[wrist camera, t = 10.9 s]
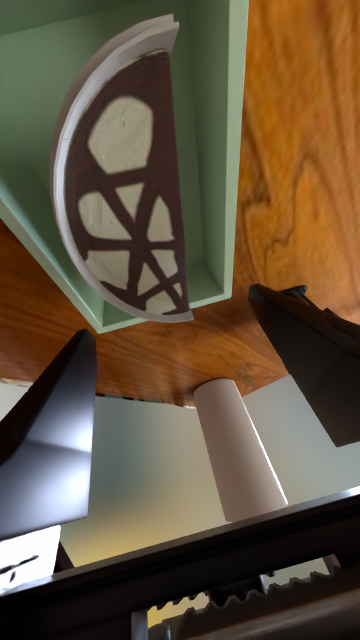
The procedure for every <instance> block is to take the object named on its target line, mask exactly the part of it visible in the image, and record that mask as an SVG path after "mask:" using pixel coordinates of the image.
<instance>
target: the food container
mask: <svg viewBox="0 0 360 640" xmlns="http://www.w3.org/2000/svg"><path fill="white" fill-rule="evenodd" d="M178 29H179V21H178V22H173V14H169V15H165V16H161V17H157V18H153V19H149V20H145V21H142V22H140V23H137V24H135V25H133V26H132V27H130V28H128V29H127V30H125V31H123V32H122V33H120V34H118V35H117V36H115V37H113V38H111V39H110V40H108V41H107V42H106V43H105V44H104V45H103V46H102V47H101V48H100V49H99V50H98V51H97V52H96V53H95V54H94V55H93V56H92V57H91V58H90V59H89V60H88V61H87V62H86V63H85V64H84V65H83V67H82V69H81V70H80V72H79V74H78V75H77V77H76V78H75V80H74V82H73V83H72V85H71V87H70V88H69V90H68V92H67V93H66V96H65V99H64V102H63V104H62V107H61V110H60V113H59V115H58V118H57V121H56V124H55V130H54V135H53V141H52V147H51V153H50V158H49V191H50V198H51V204H52V210H53V216H54V219H55V222H56V226H57V229H58V232H59V235H60V238H61V240H62V242H63V245H64V247H65V249H66V251H67V253H68V255H69V257H70V259H71V260H72V262H73V263H74V265H75V266H76V268H77V269H78V271H79V272H80V274H81V275H82V277H83V278H84V279H85V281H86V282H87V283H88V284H89V285H90V286H91V287H92V288H93V289H94V290H95V291H96V293H98V294H99V295H100V296H101V297H103V298H104V299H105V300H106V301H107V302H109V303H110V304H112V305H113V306H115V307H117V308H118V309H120V310H122V311H124V312H126V313H128V314H131V315H133V316H136V317H139V318H142V319H146V320H151V321H156V322H169V323H173V322H186V321H192V320H194V317H193V314H192V311H191V308H190V305H189V299H188V289H187V274H186V256H185V236H184V226H183V216H182V206H181V194H180V181H179V169H178V156H177V143H176V131H175V118H174V105H173V93H172V81H171V69H170V55H171V52H172V49H173V45H174V42H175V39H176V36H177V32H178Z"/></svg>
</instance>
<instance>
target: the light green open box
mask: <svg viewBox="0 0 360 640" xmlns="http://www.w3.org/2000/svg"><path fill="white" fill-rule="evenodd" d="M248 4H249V0H0V218H1V219H2V221H3V222H4V223H5V224H6V225H7V226H8V228H9V229H10V230H11V231H12V232H13V234H14V235H15V236H16V237H17V238H18V239H19V241H20V242H21V243H22V244H23V245H24V247H25V248H26V249H27V250H28V251H29V252H30V254H31V255H32V256H33V257H34V258H35V260H36V261H37V262H38V263H39V264H40V265H41V267H42V268H43V269H44V270H45V271H46V272H47V274H48V275H49V276H50V277H51V278H52V280H53V281H54V282H55V283H56V284H57V285H58V287H59V288H60V289H61V290H62V291H63V293H64V294H65V295H66V296H67V297H68V298H69V300H70V301H71V302H72V303H73V304H74V306H75V307H76V308H77V309H78V310H79V311H80V313H81V314H82V315H83V316H84V317H85V319H86V320H87V321H88V322H89V323H90V324H91V326H92V327H93V328H94V329H95V330H96V332H97V333H98V334H100V333H104V332H108V331H112V330H115V329H119V328H123V327H126V326H130V325H133V324H137V323H141V322H144V321H148V320H146V319H142V318H139V317H136V316H133V315H131V314H128V313H126V312H124V311H122V310H120V309H118V308H117V307H115V306H113V305H112V304H110V303H109V302H107V301H106V300H105V299H104V298H103V297H101V296H100V295H99V294H98V293H96V291H95V290H94V289H93V288H92V287H91V286H90V285H89V284H88V283H87V282H86V281H85V279H84V278H83V277H82V275H81V274H80V272H79V271H78V269H77V268H76V266H75V265H74V263H73V262H72V260H71V259H70V257H69V255H68V253H67V251H66V249H65V247H64V245H63V242H62V240H61V238H60V235H59V232H58V229H57V226H56V222H55V219H54V216H53V210H52V204H51V198H50V191H49V158H50V153H51V147H52V141H53V135H54V130H55V124H56V121H57V118H58V115H59V113H60V110H61V107H62V104H63V102H64V99H65V96H66V93H67V92H68V90H69V88H70V87H71V85H72V83H73V82H74V80H75V78H76V77H77V75H78V74H79V72H80V70H81V69H82V67H83V65H84V64H85V63H86V62H87V61H88V60H89V59H90V58H91V57H92V56H93V55H94V54H95V53H96V52H97V51H98V50H99V49H100V48H101V47H102V46H103V45H104V44H105V43H106V42H107V41H108V40H110V39H111V38H113V37H115V36H117V35H118V34H120V33H122V32H123V31H125V30H127V29H128V28H130V27H132V26H133V25H135V24H137V23H140V22H142V21H145V20H149V19H153V18H157V17H161V16H165V15H169V14H173V22H178V21H179V29H178V32H177V36H176V39H175V42H174V45H173V49H172V52H171V55H170V69H171V81H172V93H173V105H174V118H175V131H176V143H177V156H178V169H179V181H180V194H181V206H182V216H183V226H184V236H185V256H186V274H187V289H188V299H189V305H190V308H191V309H192V308H195V307H199V306H203V305H206V304H210V303H214V302H217V301H221V300H223V299H224V300H225V299H228V298H231V292H232V275H233V258H234V241H235V224H236V207H237V190H238V173H239V156H240V139H241V122H242V105H243V88H244V72H245V55H246V38H247V21H248Z"/></svg>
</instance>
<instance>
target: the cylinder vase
mask: <svg viewBox="0 0 360 640" xmlns="http://www.w3.org/2000/svg"><path fill="white" fill-rule="evenodd" d="M193 396H194V400H195V404H196V408H197V412H198V416H199V419H200V423H201V427H202V430H203V435H204V439H205V443H206V446H207V451H208V454H209V458H210V462H211V466H212V470H213V473H214V477H215V481H216V485H217V489H218V493H219V497H220V501H221V504H222V508H223V512H224V516H225V520H226V521H229V522H235V521H240V520H244V519H247V518H251V517H254V516H258V515H261V514H265V513H268V512H272V511H275V510H279V509H281V508H283V507H285V506H286V505H287V503H288V502H287V500H286V498H285V496H284V493H283V491H282V489H281V487H280V484H279V482H278V480H277V477H276V475H275V473H274V471H273V469H272V466H271V464H270V461H269V459H268V457H267V455H266V452H265V450H264V448H263V445H262V443H261V441H260V439H259V436H258V434H257V432H256V430H255V427H254V425H253V423H252V420H251V418H250V416H249V414H248V412H247V409H246V407H245V405H244V402H243V400H242V398H241V395H240V393H239V391H238V389H237V386H236V384H235V382H234V381H233V380H231V379H227V378H222V379H215V380H212V381H209V382H206V383H204V384H202V385H201V386H199V387H198V388H197V389H196V390H195V391H194V394H193Z"/></svg>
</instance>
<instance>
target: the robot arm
mask: <svg viewBox="0 0 360 640" xmlns="http://www.w3.org/2000/svg"><path fill="white" fill-rule="evenodd" d="M306 290H307V287H306V286H305V285H303V286H299V287H296V288H292V289H288V290H285V291H281V292H277V291H275V290H272V289H270V288H267V287H265V286H263V285H260V284H254V285H251V286H250V288H249V294H248V301H249V303H250V305H251V307H252V309H253V312H254V314H255V316H256V318H257V320H258V322H259V324H260V326H261V327H262V329H263V331H264V332H265V334H266V335H267V337H268V339H269V340H270V342H271V343H272V345H273V347H274V348H275V350H276V351H277V353H278V355H279V356H280V358H281V359H282V361H283V363H284V365H285V367H286V369H287V371H288V373H289V374H290V375H291V376H292V377H293V379H294V380H295V382H296V384H297V385H298V387H299V388H300V390H301V392H302V393H303V395H304V396H305V398H306V400H307V401H308V403H309V404H310V406H311V408H312V409H313V411H314V412H315V414H316V416H317V417H318V419H319V421H320V422H321V424H322V425H323V427H324V429H325V430H326V432H327V433H328V435H329V437H330V438H331V440H332V441H333V443H334V444H335V446H336V447H341V446H344V445H347V444H351V443H355V442H358V441H360V325H358V324H355V323H352V322H350V321H347V320H344V319H342V318H341V317H340V316H338V315H337V314H335V313H334V312H333V311H331V310H330V309H329V308H326V309H324V311H322V310H320V309H319V308H318V307H317V306H316V305H315V304H313V303H312V302H311V301H310V300H309V299H308V298H307V297H306V296H305V295H304V294H305V292H306ZM96 377H97V354H96V340H95V338H94V337H93V335H92V334H91V333H90V332H89V331H88V330H87V329H82V330H79V331H77V332H76V333H75V335H74V336H73V337H72V338H71V339H70V341H69V342H68V343H67V344H66V345H65V346H64V348H63V349H62V350H61V351H60V352H59V354H58V355H57V356H56V357H55V358H54V360H53V361H52V362H51V363H50V364H49V366H48V367H47V368H46V369H45V370H44V371H43V373H42V374H41V375H40V376H39V377H38V379H37V380H36V381H35V382H34V383H33V385H32V386H31V387H30V388H29V389H28V392H26V393H25V394H24V395H23V397H22V398H21V399H20V400H19V401H18V402H17V403H16V405H15V406H14V407H13V408H12V409H11V410H10V411H9V413H8V414H7V415H6V416H5V417H4V418H3V419H2V420H1V421H0V640H360V487H356V488H353V489H349V490H346V491H342V492H339V493H335V494H332V495H328V496H325V497H321V498H318V499H314V500H311V501H307V502H304V503H300V504H297V505H293V506H289V507H286V508H282V509H279V510H275V511H272V512H268V513H265V514H261V515H258V516H254V517H251V518H247V519H244V520H240V521H237V522H233V523H230V524H226V525H223V526H220V527H216V528H212V529H209V530H205V531H202V532H198V533H195V534H191V535H188V536H184V537H181V538H178V539H174V540H170V541H167V542H163V543H160V544H157V545H153V546H149V547H146V548H142V549H139V550H135V551H132V552H128V553H125V554H121V555H118V556H114V557H111V558H107V559H104V560H100V561H97V562H93V563H90V564H86V565H83V566H79V567H76V568H75V567H74V566H73V564H72V562H71V560H70V558H69V557H68V555H67V554H66V552H65V549H64V548H63V546H62V544H61V542H60V541H59V536H60V530H61V525H62V524H66V523H69V522H73V521H77V520H80V519H83V518H86V517H87V512H88V499H89V484H90V469H91V452H92V451H91V450H92V436H93V422H94V406H95V392H96ZM321 557H322V558H323V560H324V562H325V564H326V567H327V569H328V571H329V573H330V575H324V574H322V573H319V572H316V571H314V572H311V573H310V577H308V578H304V579H298V578H296V577H294V578H290V582H289V583H287V584H284V585H281V586H280V585H278V584H276V583H274V584H270V585H269V589H267V590H266V588H265V584H264V581H263V578H262V575H263V574H265V575H267V576H269V577H273V576H274V575H275V571H277V570H280V569H284V568H287V567H290V566H293V565H297V564H301V563H304V562H308V561H311V560H314V559H318V558H321ZM201 592H203V593H204V594H205V595H206V596H208V597H209V603H208V604H207V606H206V607H205V608H202V609H199V610H195V609H194V607H192V608H188V609H187V610H186V612H185V613H184V614H182V615H178V616H175V617H172V618H168V619H165V620H163V621H162V623H160V624H156V625H154V626H152V627H150V628H149V629H148V620H147V611H148V610H150V609H151V607H153V606H156V607H157V610H160V609H162V608H163V607H164V606H165V605H166V604H167V602H170V601H172V603H173V605H177V604H178V603H179V602H180V601H181V600H182V599H183V598H184V597H188V599H189V600H190V601H191V600H194V599H195V598H196V596H197V595H198V594H199V593H201Z"/></svg>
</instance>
